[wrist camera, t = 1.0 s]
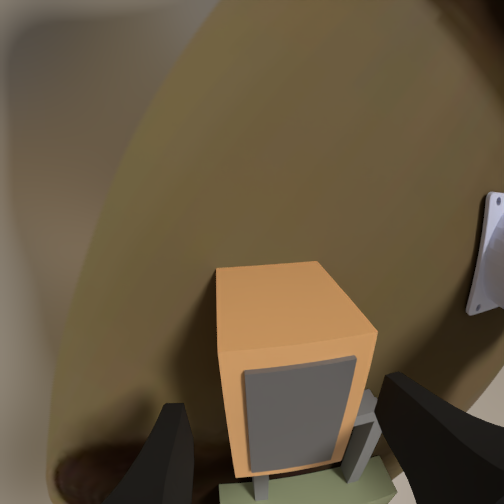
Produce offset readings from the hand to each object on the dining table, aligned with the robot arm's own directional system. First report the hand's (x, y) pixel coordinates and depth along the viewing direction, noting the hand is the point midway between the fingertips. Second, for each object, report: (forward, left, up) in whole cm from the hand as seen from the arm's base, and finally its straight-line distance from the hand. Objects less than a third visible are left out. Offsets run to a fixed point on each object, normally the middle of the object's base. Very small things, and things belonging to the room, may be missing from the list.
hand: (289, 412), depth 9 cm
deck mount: (-3, +14, -5) cm, 15 cm away
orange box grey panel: (0, 0, -5) cm, 5 cm away
